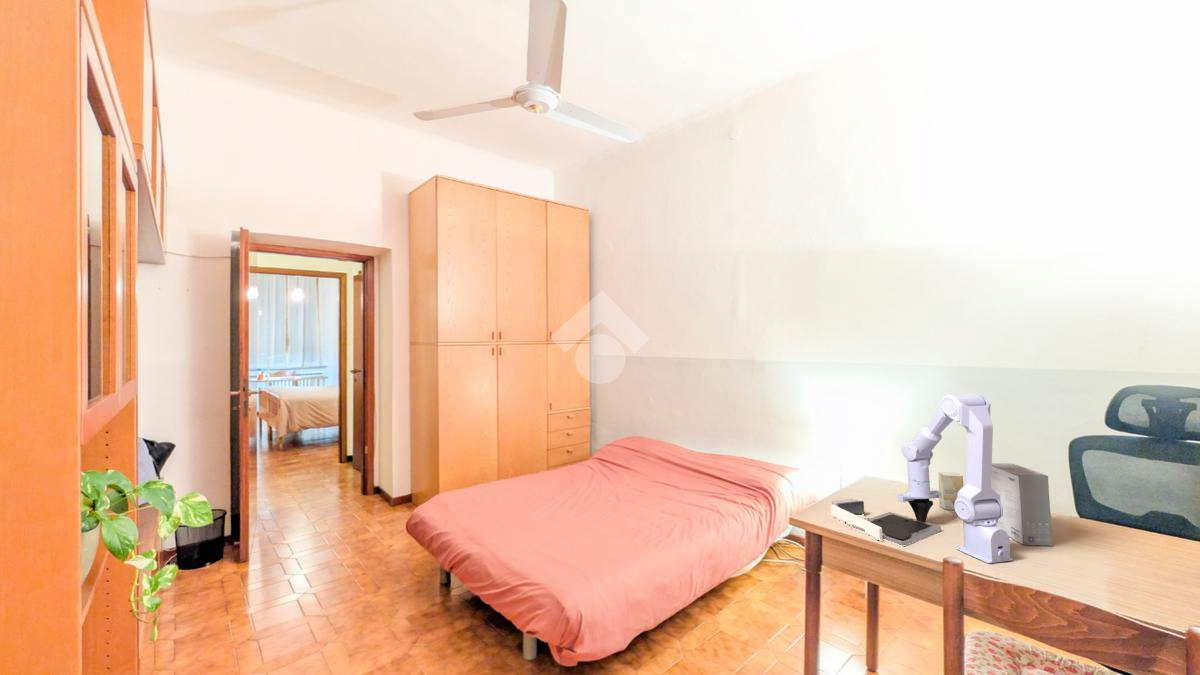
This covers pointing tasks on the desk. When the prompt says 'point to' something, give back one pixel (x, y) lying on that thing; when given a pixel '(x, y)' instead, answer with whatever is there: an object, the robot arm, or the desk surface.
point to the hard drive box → (1023, 503)
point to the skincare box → (949, 489)
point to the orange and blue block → (843, 501)
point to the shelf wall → (857, 521)
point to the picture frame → (902, 528)
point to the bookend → (853, 507)
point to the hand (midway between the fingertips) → (921, 522)
